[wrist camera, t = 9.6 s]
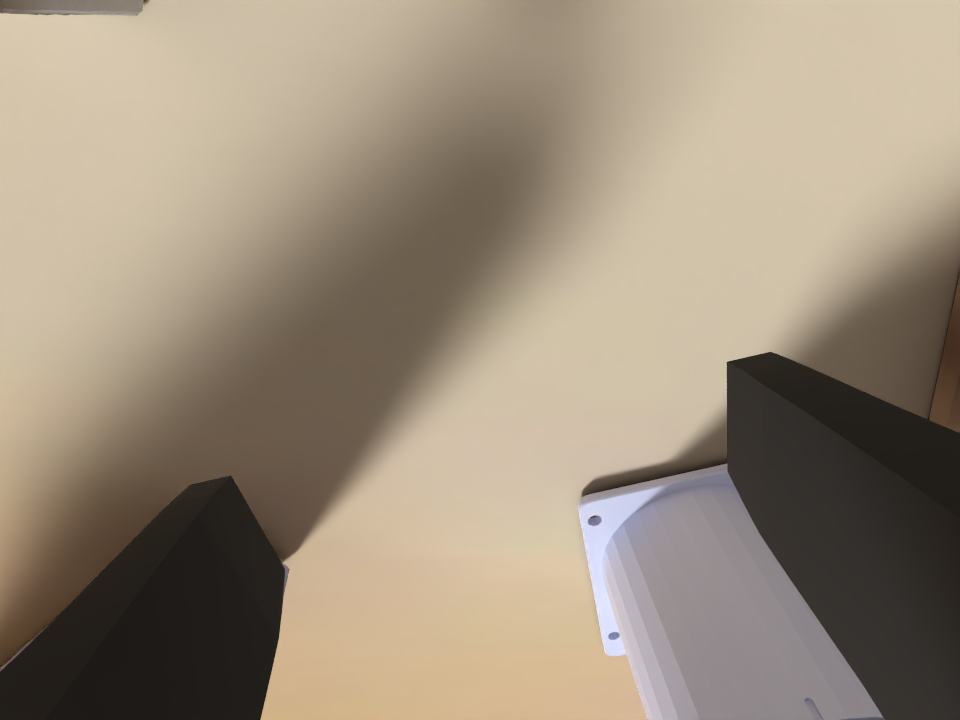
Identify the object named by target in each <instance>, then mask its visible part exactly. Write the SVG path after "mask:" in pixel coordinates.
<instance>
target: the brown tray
mask: <svg viewBox="0 0 960 720" xmlns="http://www.w3.org/2000/svg"><path fill="white" fill-rule="evenodd" d="M929 420H930V421H932V422H934V423H937V424H939V425H942V426H944V427H946V428H949V429H951V430H954V431H956V432H959V433H960V275H959V280H958V284H957V289H956V294H955V299H954V303H953V308H952V313H951V317H950V322H949V327H948V332H947V336H946V341H945V346H944V350H943V355H942V360H941V365H940V369H939V374H938V379H937V383H936V388H935V393H934V397H933V402H932V407H931V412H930V416H929Z"/></svg>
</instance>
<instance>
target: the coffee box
mask: <svg viewBox="0 0 960 720" xmlns="http://www.w3.org/2000/svg"><path fill="white" fill-rule="evenodd" d="M143 2H144V0H0V13H10V14H33V15H38V14H41V15H52V14H58V15H70V14H72V15H127V16H134V15H138V14H139V13H140V12H141V11H142V8H143Z"/></svg>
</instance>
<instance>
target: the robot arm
mask: <svg viewBox="0 0 960 720" xmlns="http://www.w3.org/2000/svg"><path fill="white" fill-rule="evenodd" d="M578 513H579V518H580V523H581V529H582V534H583V540H584V545H585V550H586V556H587V561H588V567H589V572H590V577H591V583H592V588H593V594H594V599H595V604H596V610H597V615H598V621H599V626H600V631H601V637H602V642H603V647H604V650H605V653H606V654H608V655H609V656H620V655H624V654H627V657H628V661H629V664H630V667H631V670H632V673H633V676H634V679H635V683H636V686H637V689H638V692H639V695H640V698H641V701H642V705H643V708H644V711H645V714H646V717H647V720H960V433H959V432H956V431H954V430H951V429H949V428H946V427H944V426H942V425H939V424H937V423H934V422H932V421H930V420H927V419H925V418H922V417H920V416H918V415H915V414H913V413H911V412H908V411H906V410H904V409H901V408H899V407H897V406H895V405H892V404H890V403H888V402H885V401H883V400H881V399H879V398H876V397H874V396H872V395H870V394H867V393H865V392H863V391H861V390H858V389H856V388H854V387H852V386H849V385H847V384H845V383H843V382H840V381H838V380H836V379H834V378H831V377H829V376H827V375H825V374H822V373H820V372H818V371H816V370H813V369H811V368H809V367H807V366H804V365H802V364H800V363H797V362H795V361H793V360H790V359H788V358H785V357H783V356H780V355H777V354H775V353H772V352H768V353H764V354H759V355H755V356H750V357H746V358H742V359H737V360H733V361H729V362H727V464H723V465H718V466H714V467H709V468H705V469H701V470H696V471H692V472H687V473H683V474H678V475H674V476H669V477H665V478H660V479H656V480H651V481H647V482H642V483H638V484H633V485H629V486H624V487H620V488H615V489H611V490H606V491H602V492H597V493H593V494H589V495H586V496H584V497H583V498H581V499H580V500H579V502H578ZM595 515H597V516H596V517H594V518H590V517H592V516H595ZM284 580H285V568H284V567H283V565H282V563H281V562H280V560H279V558H278V556H277V555H276V553H275V551H274V549H273V548H272V546H271V544H270V542H269V541H268V539H267V537H266V536H265V534H264V532H263V530H262V529H261V527H260V525H259V523H258V522H257V520H256V518H255V516H254V515H253V513H252V511H251V510H250V508H249V506H248V504H247V503H246V501H245V499H244V497H243V496H242V494H241V492H240V490H239V489H238V487H237V485H236V484H235V482H234V480H233V478H232V477H231V476H227V477H223V478H218V479H214V480H210V481H205V482H201V483H197V484H192V485H190V486H189V487H188V488H187V489H185V490H184V491H183V492H182V493H181V494H180V495H178V496H177V497H176V498H175V499H174V500H173V501H172V502H171V503H170V504H169V505H168V506H167V507H166V508H165V509H164V510H163V511H162V512H161V513H160V514H159V515H157V516H156V517H155V518H154V519H153V520H152V521H151V522H150V523H149V524H148V525H147V526H146V527H145V528H144V529H143V531H142V532H141V533H140V534H139V535H138V536H137V537H136V538H135V539H134V540H133V541H132V542H131V543H130V544H129V545H128V546H127V547H126V548H125V549H124V550H123V551H122V552H121V553H120V554H119V555H118V556H117V557H116V558H115V559H114V560H113V561H112V562H111V563H110V564H109V565H108V566H107V567H106V568H105V569H104V570H103V571H102V572H101V573H100V574H99V575H98V576H97V577H96V578H95V579H94V580H93V581H92V582H91V583H90V584H89V585H88V586H87V587H86V588H85V589H84V590H83V591H82V592H81V593H80V595H79V596H78V597H77V598H76V599H75V600H74V601H73V602H72V603H71V604H70V605H69V606H68V607H67V608H66V609H65V610H64V611H63V612H62V613H61V614H60V615H59V616H58V617H57V618H56V619H55V620H54V621H52V622H51V623H50V624H49V625H48V626H47V627H46V628H45V629H44V630H43V631H42V632H41V633H40V634H39V635H38V636H37V637H36V638H35V639H34V640H33V641H32V642H31V643H30V644H29V645H27V646H26V647H25V648H24V649H23V650H22V651H21V652H20V653H19V654H18V655H17V656H16V657H15V658H14V659H13V660H12V661H11V662H10V663H9V664H8V665H7V666H6V667H5V668H3V669H2V670H1V671H0V720H260V719H261V714H262V710H263V706H264V702H265V697H266V693H267V689H268V684H269V680H270V675H271V671H272V667H273V662H274V658H275V653H276V648H277V644H278V639H279V631H280V622H281V614H282V605H283V592H284Z"/></svg>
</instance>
